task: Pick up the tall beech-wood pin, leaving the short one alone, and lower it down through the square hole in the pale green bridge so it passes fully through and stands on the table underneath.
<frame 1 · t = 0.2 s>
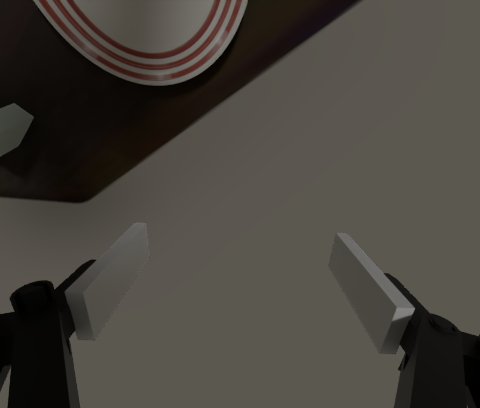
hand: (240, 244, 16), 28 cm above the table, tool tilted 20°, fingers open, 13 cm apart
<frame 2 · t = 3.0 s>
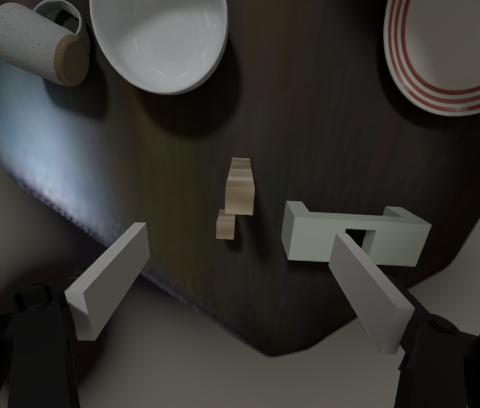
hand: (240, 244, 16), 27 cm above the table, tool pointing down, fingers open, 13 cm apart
tall pin: (240, 166, 41), on the table
ceramic mug: (66, 46, 35), on the table
dinner plate: (469, 15, 33), on the table
cereal bowl: (174, 36, 34), on the table
bridge: (339, 223, 45), on the table
short pin: (227, 216, 44), on the table
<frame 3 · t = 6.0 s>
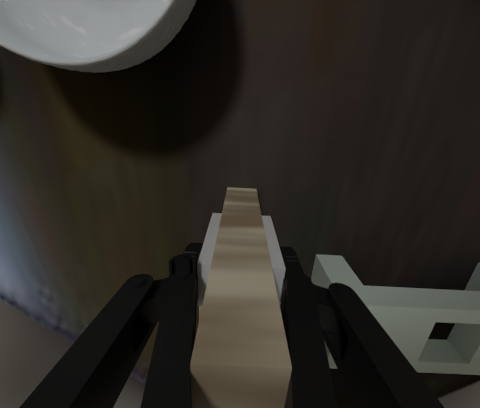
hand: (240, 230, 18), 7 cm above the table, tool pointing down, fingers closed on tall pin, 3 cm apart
tall pin: (241, 201, 24), on the table, touching gripper
bridge: (399, 286, 28), on the table
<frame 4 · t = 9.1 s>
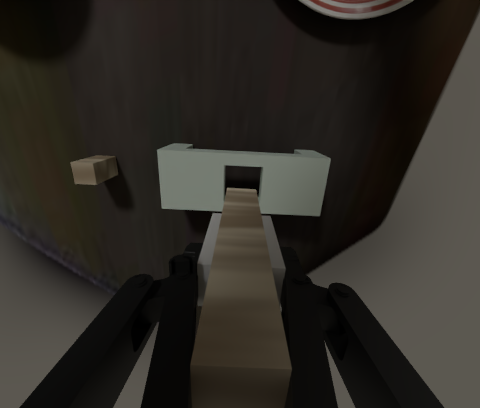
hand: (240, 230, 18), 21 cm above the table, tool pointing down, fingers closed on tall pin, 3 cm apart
tall pin: (240, 202, 24), point 14 cm above the table, touching gripper
bridge: (242, 171, 37), on the table
short pin: (107, 165, 37), on the table
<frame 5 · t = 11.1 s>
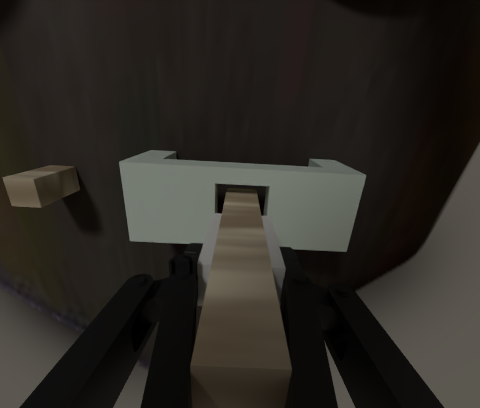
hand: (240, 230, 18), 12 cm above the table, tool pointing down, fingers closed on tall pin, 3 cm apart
tall pin: (240, 202, 24), point 5 cm above the table, touching gripper
bridge: (241, 187, 29), on the table
short pin: (65, 177, 28), on the table
when the fingers open (10 cm above the table, at t = 12.6 s): tall pin drops 3 cm, on the table.
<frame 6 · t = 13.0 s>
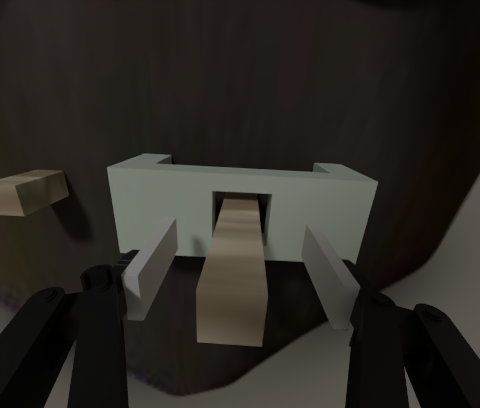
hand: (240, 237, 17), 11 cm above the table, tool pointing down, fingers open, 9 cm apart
tall pin: (242, 193, 27), on the table
bridge: (241, 193, 27), on the table
short pin: (53, 183, 27), on the table
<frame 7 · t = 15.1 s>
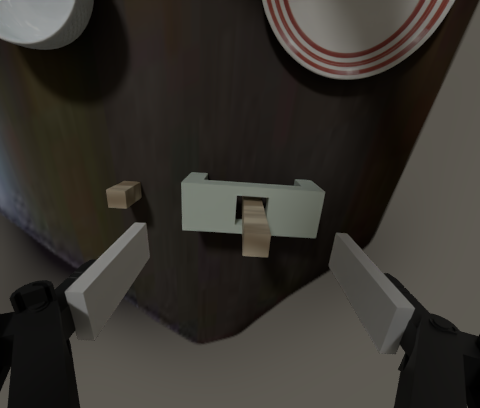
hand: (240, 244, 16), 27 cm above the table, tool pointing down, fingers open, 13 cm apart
tall pin: (250, 197, 43), on the table
bridge: (249, 197, 43), on the table
short pin: (133, 189, 43), on the table
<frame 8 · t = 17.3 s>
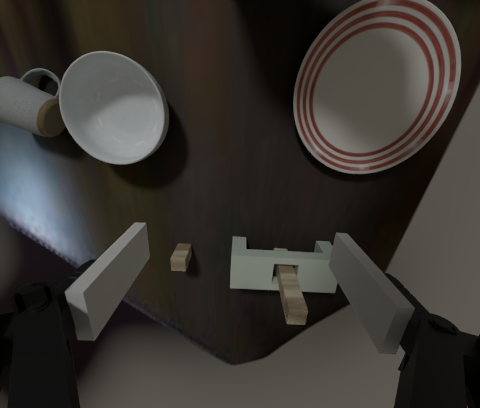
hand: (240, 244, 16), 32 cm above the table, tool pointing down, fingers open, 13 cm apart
tall pin: (279, 254, 53), on the table
ceramic mug: (49, 102, 42), on the table
dinner plate: (365, 97, 42), on the table
cereal bowl: (132, 113, 43), on the table
bridge: (279, 254, 53), on the table
short pin: (185, 249, 53), on the table
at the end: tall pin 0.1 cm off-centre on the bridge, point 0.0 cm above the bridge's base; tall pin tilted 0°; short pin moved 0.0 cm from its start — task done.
